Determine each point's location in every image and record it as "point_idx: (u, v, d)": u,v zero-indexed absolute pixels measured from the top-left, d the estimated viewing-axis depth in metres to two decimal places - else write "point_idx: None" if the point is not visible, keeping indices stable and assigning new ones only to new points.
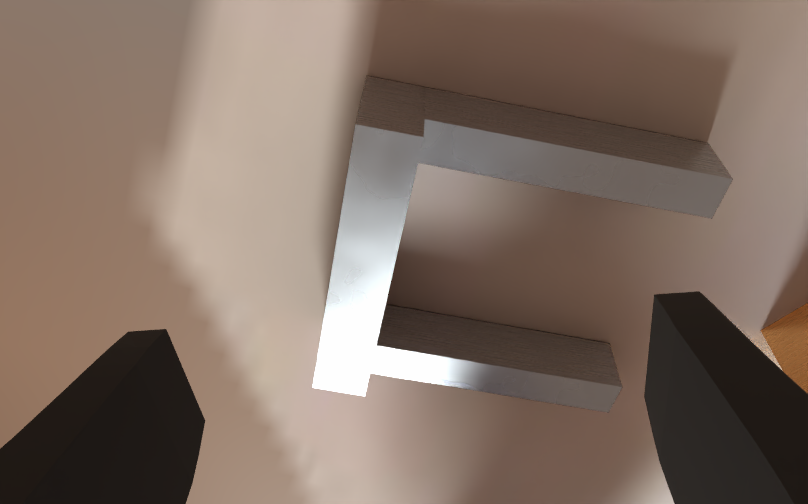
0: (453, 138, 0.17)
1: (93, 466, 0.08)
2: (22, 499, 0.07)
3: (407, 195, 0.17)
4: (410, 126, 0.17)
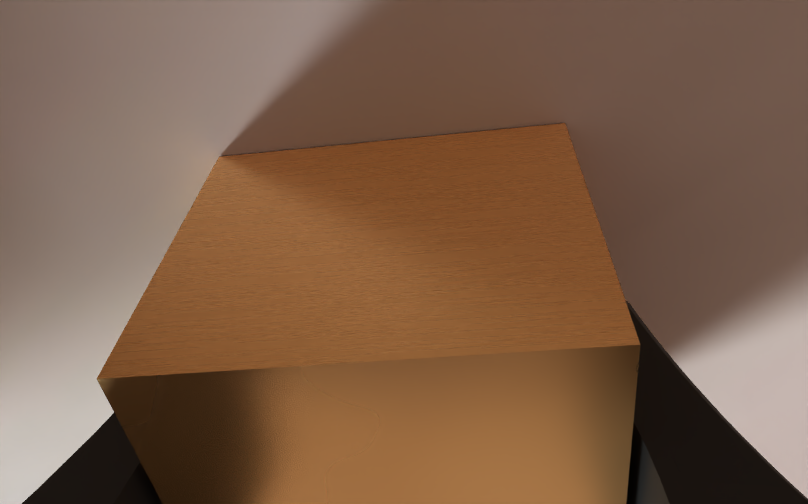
0: None
1: None
2: (115, 495, 0.07)
3: None
4: None
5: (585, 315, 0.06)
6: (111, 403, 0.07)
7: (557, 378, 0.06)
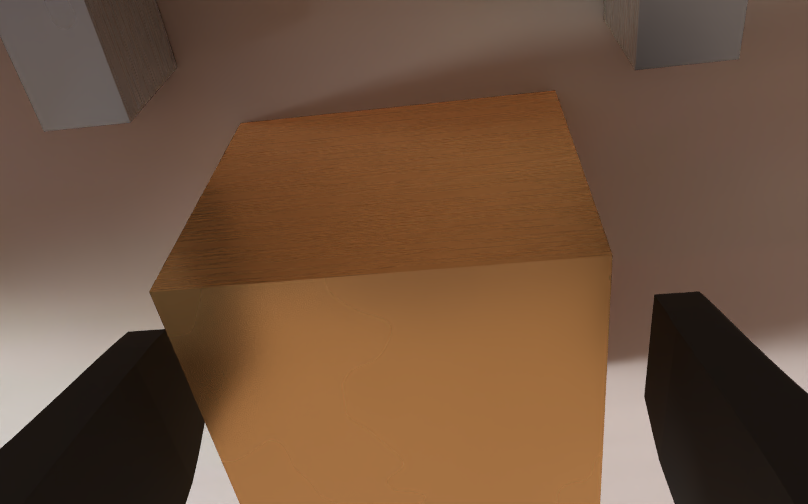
0: None
1: (93, 466, 0.08)
2: (22, 499, 0.07)
3: None
4: None
5: (566, 235, 0.08)
6: (160, 315, 0.08)
7: (542, 287, 0.07)
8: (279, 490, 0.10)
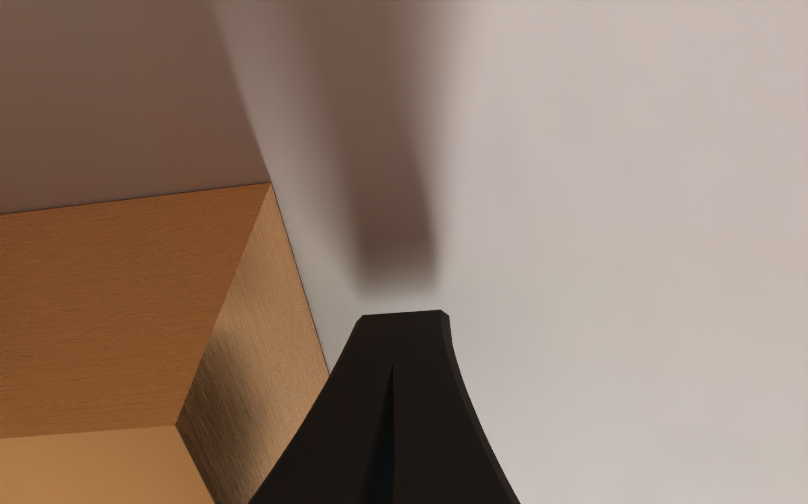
0: None
1: (384, 452, 0.08)
2: (356, 484, 0.07)
3: None
4: None
5: None
6: None
7: None
8: None
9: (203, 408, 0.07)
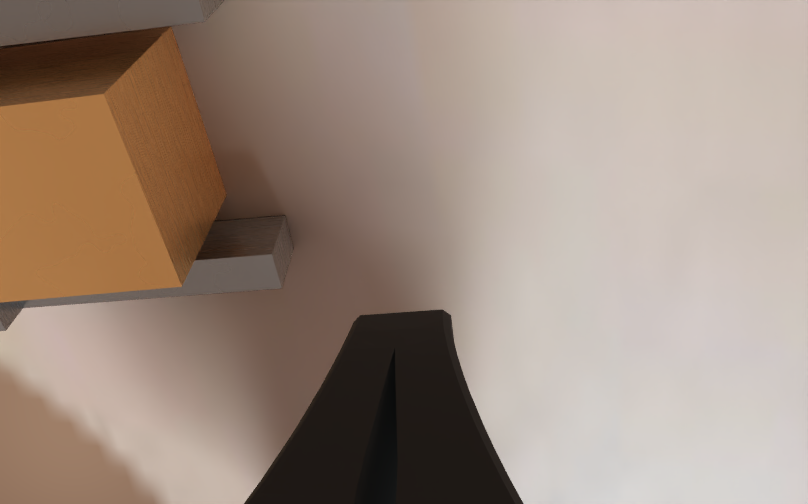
0: None
1: (381, 452, 0.08)
2: (353, 484, 0.07)
3: None
4: None
5: None
6: None
7: None
8: (78, 274, 0.17)
9: (119, 100, 0.15)
